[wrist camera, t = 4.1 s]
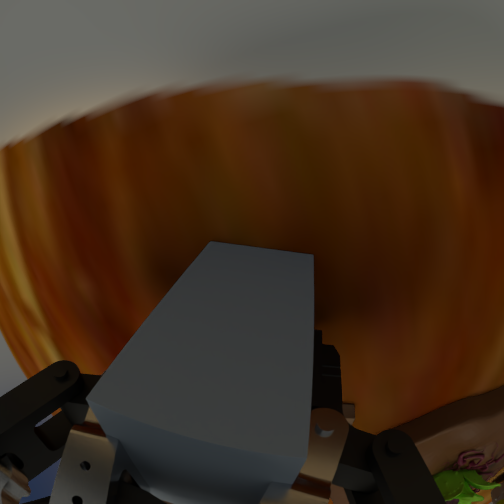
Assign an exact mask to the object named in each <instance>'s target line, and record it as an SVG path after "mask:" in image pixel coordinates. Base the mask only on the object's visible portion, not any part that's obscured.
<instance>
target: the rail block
mask: <svg viewBox="0 0 504 504" xmlns="http://www.w3.org/2000/svg"><path fill="white" fill-rule="evenodd" d="M313 348H314V255H311V254H304V253H296V252H289V251H281V250H274V249H266V248H259V247H251V246H244V245H236V244H228V243H221V242H213V241H210V242H209V243H208V245H207V246H206V247H205V248H204V249H203V251H202V252H201V253H200V254H199V255H198V256H197V258H196V259H195V260H194V261H193V262H192V264H191V265H190V266H189V267H188V268H187V270H186V271H185V272H184V273H183V274H182V276H181V277H180V278H179V279H178V280H177V282H176V283H175V284H174V285H173V287H172V288H171V289H170V290H169V291H168V293H167V294H166V295H165V296H164V298H163V299H162V300H161V301H160V303H159V304H158V305H157V306H156V308H155V309H154V310H153V311H152V312H151V314H150V315H149V316H148V318H147V319H146V320H145V321H144V323H143V324H142V325H141V326H140V328H139V329H138V330H137V331H136V333H135V334H134V335H133V337H132V338H131V339H130V340H129V342H128V343H127V344H126V346H125V347H124V348H123V349H122V351H121V352H120V353H119V355H118V356H117V357H116V359H115V360H114V361H113V362H112V364H111V365H110V366H109V368H108V369H107V370H106V372H105V373H104V374H103V376H102V377H101V378H100V380H99V381H98V382H97V384H96V385H95V386H94V388H93V389H92V391H91V392H90V393H89V395H88V396H87V397H86V400H87V402H88V404H89V406H90V408H91V410H92V411H93V413H94V415H95V417H96V418H97V420H98V422H99V424H100V425H101V427H102V429H103V430H104V432H105V434H107V435H110V436H112V437H114V438H117V439H119V440H120V442H121V444H122V445H123V447H124V449H125V450H126V452H127V454H128V455H129V457H130V458H131V460H132V462H133V463H134V465H135V466H136V468H137V469H138V471H139V472H140V474H141V475H142V477H143V478H144V479H145V481H146V482H147V484H148V485H149V486H150V493H151V494H152V495H154V496H156V497H157V498H159V499H161V500H164V501H167V502H170V503H173V504H259V503H260V501H261V499H262V497H263V496H264V494H265V492H266V490H267V489H268V487H269V485H270V483H271V481H273V482H280V483H287V484H293V482H294V481H295V479H296V477H297V476H298V474H299V472H300V470H301V468H302V467H303V465H304V463H305V461H306V459H307V454H308V442H309V429H310V415H311V398H312V378H313Z"/></svg>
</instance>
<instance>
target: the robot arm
mask: <svg viewBox="0 0 504 504" xmlns="http://www.w3.org/2000/svg"><path fill="white" fill-rule="evenodd" d="M105 372H106V371H105ZM105 372H104V373H105ZM104 373H103V374H104ZM103 374H102V375H90V374H81V373H80V371H79V368H78V367H77V365H76V364H75V363H73V362H71V361H66V360H63V361H58V362H55V363H53V364H51V365H50V366H48V367H47V368H45V369H43V370H42V371H40V372H39V373H37V374H36V375H34V376H32V377H31V378H29V379H28V380H26V381H25V382H23V383H22V384H20V385H18V386H17V387H15V388H14V389H12V390H11V391H9V392H8V393H6V394H4V395H3V396H1V397H0V504H19V501H20V499H21V498H22V496H24V497H27V496H29V495H30V492H31V490H30V488H29V486H28V482H29V481H30V480H31V479H33V478H34V477H36V476H37V475H39V474H40V473H41V472H43V471H44V470H45V469H46V468H48V467H49V466H51V465H52V464H53V463H55V462H56V461H58V460H59V459H60V458H61V457H62V458H61V461H60V465H59V468H58V471H57V475H56V479H55V482H54V486H53V490H52V494H51V496H48V497H45V498H41V499H38V500H34V501H30V502H26V503H23V504H167V503H165V502H164V501H162V500H160V499H159V498H157V497H156V496H154V495H152V494H151V493H150V486H149V485H148V484H147V482H146V481H145V479H144V478H143V477H142V475H141V474H140V472H139V471H138V469H137V468H136V466H135V465H134V463H133V462H132V460H131V458H130V457H129V455H128V454H127V452H126V450H125V449H124V447H123V445H122V444H121V442H120V440H119V439H117V438H114V437H112V436H110V435H107V434H105V432H104V430H103V429H102V427H101V425H100V424H99V422H98V420H97V418H96V417H95V415H94V413H93V411H92V410H91V408H90V406H89V404H88V402H87V400H86V397H87V396H88V395H89V393H90V392H91V391H92V389H93V388H94V386H95V385H96V384H97V382H98V381H99V380H100V378H101V377H102V376H103ZM58 408H61V409H62V411H60V412H59V413H58V414H56V415H55V416H53V417H52V418H51V419H49V420H48V421H46V422H45V423H43V424H42V425H40V426H38V427H35V425H36V424H37V423H38V422H40V421H41V420H43V419H44V418H46V417H47V416H48V415H50V414H51V413H53V412H54V411H56V410H57V409H58ZM331 484H333V485H336V486H339V487H343V488H344V491H345V493H346V496H347V499H348V502H349V504H447V503H446V501H445V499H444V497H443V496H442V494H441V492H440V490H439V488H438V486H437V484H436V482H435V480H434V478H433V476H432V475H431V473H430V471H429V469H428V467H427V465H426V463H425V462H424V460H423V458H422V456H421V454H420V452H419V451H418V449H417V447H416V445H415V443H414V442H413V440H412V439H411V437H410V436H409V435H408V434H406V433H405V432H403V431H400V430H396V429H390V430H385V431H383V432H381V433H379V434H378V435H373V434H370V433H367V432H364V431H361V430H358V429H356V428H354V427H353V426H352V425H350V424H349V423H348V421H347V419H346V418H345V417H344V414H343V408H342V385H341V369H340V355H339V354H338V352H337V350H336V349H335V347H334V346H333V345H325V344H322V331H321V330H314V348H313V378H312V398H311V415H310V429H309V442H308V454H307V459H306V461H305V463H304V465H303V467H302V468H301V470H300V472H299V474H298V476H297V477H296V479H295V481H294V482H293V484H287V483H280V482H273V481H271V483H270V485H269V487H268V489H267V490H266V492H265V494H264V496H263V497H262V499H261V501H260V503H259V504H328V501H329V498H330V495H331V489H330V486H331ZM500 485H501V486H500V487H499V486H498V487H496V488H494V489H493V490H492V491H491V497H492V502H493V504H496V503H497V502H498V501H499V500H501V499H504V482H502V483H501V484H500Z"/></svg>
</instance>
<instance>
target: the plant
mask: <svg viewBox="0 0 504 504" xmlns="http://www.w3.org/2000/svg"><path fill="white" fill-rule="evenodd" d="M393 429H396V430H400V431H403V432H405V433H406V434H408V435H409V436H410V437H411V439H412V440H413V442H414V443H415V445H416V447H417V449H418V451H419V452H420V454H421V456H422V458H423V460H424V462H425V463H426V465H427V467H428V469H429V471H430V473H431V475H432V476H433V478H434V480H435V482H436V484H437V486H438V488H439V490H440V492H441V494H442V496H443V497H444V499H445V501H446V503H447V504H471V502H474V501H483V500H484V498H483V497H482V496H480V495H477V494H476V492H479V491H480V489H482V490H488V489H493V488H496V487H498V486H499V487H500V486H501V485H500V484H498V483H495V482H493V483H490V482H487V481H488V480H489V479H490V478H491V477H493V476H495V474H496V473H497V472H498V471H499V470H500V469H502V468H503V467H504V386H502V387H500V388H498V389H496V390H493V391H491V392H488V393H486V394H483V395H479V396H474V397H469V398H465V399H462V400H459V401H457V402H454V403H451V404H449V405H446V406H444V407H441V408H439V409H436V410H434V411H432V412H430V413H428V414H426V415H424V416H421V417H419V418H417V419H415V420H413V421H410V422H408V423H406V424H403V425H401V426H398V427H395V428H393ZM473 488H476V489H474V490H471V489H473ZM330 489H331V495H330V498H331V499H332V501H333V503H334V504H349V502H348V499H347V496H346V493H345V491H344V488H343V487H339V486H336V485H333V484H331V486H330ZM478 489H479V491H477V490H478ZM496 504H504V499H501V500H499V501H498V502H497V503H496Z"/></svg>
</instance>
